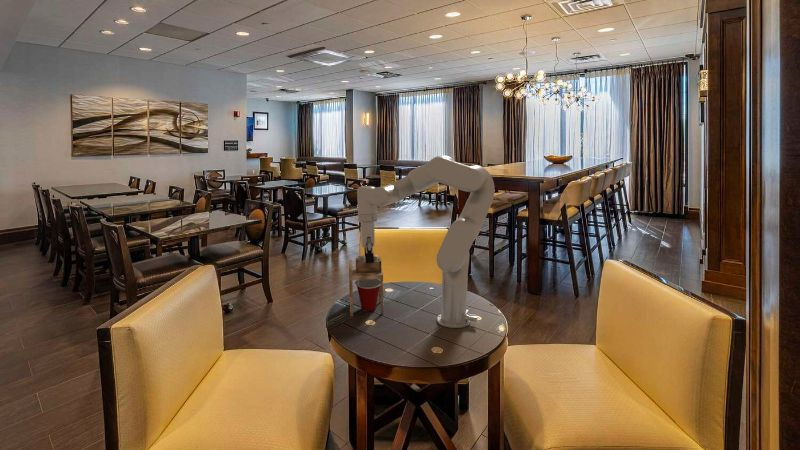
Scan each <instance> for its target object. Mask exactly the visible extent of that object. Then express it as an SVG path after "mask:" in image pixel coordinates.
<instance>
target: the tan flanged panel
mask: <svg viewBox="0 0 800 450" xmlns="http://www.w3.org/2000/svg"><path fill="white" fill-rule="evenodd" d="M361 279H380V280H381V285H380V288H379V293H378V304H380V315H381V316H383V315H384V273H383V270H382V268H381V272H379V273H356V265H354V266H353V260H352V259H348V280H349V281H348V283H349V284H348V285H349V287H348V288H349V290H348V291H349V317H354V302H353V301H354V295H353V293H354V292H353V288H354V287H353V281H356V280H361Z"/></svg>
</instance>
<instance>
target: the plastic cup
mask: <svg viewBox="0 0 800 450" xmlns="http://www.w3.org/2000/svg"><path fill="white" fill-rule="evenodd" d="M354 284H355V285H356V288H357V291H358V298H359V302H360V307H361V310H362V311H363V312H373V311H375V310H376V309H377V305H378V304H377V303H378V300H379V288H380V285H381V280H380V279H361V280H355V283H354Z"/></svg>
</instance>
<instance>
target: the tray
mask: <svg viewBox="0 0 800 450" xmlns="http://www.w3.org/2000/svg"><path fill="white" fill-rule="evenodd" d="M355 266H356V273H379V272H381V269H382V260H381V257H379V255H377V254H374V263H366V260H365V255H358V257H356V258H355Z"/></svg>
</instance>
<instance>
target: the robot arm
mask: <svg viewBox="0 0 800 450" xmlns="http://www.w3.org/2000/svg"><path fill="white" fill-rule="evenodd" d="M438 184H443V185H445V186H448V187H451V188H454V189H457V190H460V191H463V192H466V193H467V192H468V193H469V196H468V198H467V200H466V202H465V205H464V206H463V208H462V211H461V213H460V215H459V216H458V218H457V219H456V220H454V221H453V222H452V223H451V224H450V226H449V228H448V229H447V232H446V233H445V236H444V238H443V240H442V242H441V245H440V247H439V249H438V251H437V254H436V257H435V259H436V265H437V267H438V268H439V270H441V271H442V272H441V300H440V301H441V302H440V303H441V305H440V306H441V311H440V312H441V313H440V314H438V315H437V317H436V322H437V323H438V325H440V326H442V327H444V328H445V327H446V328H449V329H463V328H465V327H467V326H469V325H470V323H471V322H475V323H478V319H479V318H478V316H476V314H473V313H472V314H471V313H470V312H469V309H468V308H467V304H468V300H467V299H468V281H469V280H468V279H469V278H468V276H469V275H468V274H469V265H470V249H471V247H472V245H473V243H474V241H475V240H476V239H477V238H478V237H479V235H480V231H481V229H482V227H483V224H484V222H485V219H486V218H487V216H488V213H489V211H490V208H491V206H492V203H493V201H494V197H495V189H496V188H495V187H496V186H495V183H494V179H493V177H492V176H491V174H490V173H489V171H488V170H487V169H486V168H485V167H483V166H481V165H477V164H476V165H470V166H469V165H466V164H463V163H459V162H458V161H455V160H454V159H453V158H452V157H450V156H448V155H437V156H435V157H432V158H431V159H430V160H429V161H428V162H427V163H424V164H422V165H420V166H418V167H416V168H414V169H412V170H410V171H409V172H408V173H407V175H406V176H404V177H403V178H400V179H398V180H397V181H394V182H392V183H390V184H386V185H383V186H378V187H375V186H373V185H363V186H359V187H358V188H357V190H356V193H357V194H356V195H357V219H358V223H360V242H361V247H362V248H363V249H364V256H365V260H366V263H374V255H375V254H374V247H375V234H376V232H375V223H376V222H378V207H382V208H383V207H388V206H389V205H391V204H392V205H393V204H395V203H397V202H399V201H402V200H403V199H406V198H408V197H411V196H412V195H414V194H417V193H420V192H422V191H425V190H427V189H429V188H431V187H434V186H435V185H438Z"/></svg>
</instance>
